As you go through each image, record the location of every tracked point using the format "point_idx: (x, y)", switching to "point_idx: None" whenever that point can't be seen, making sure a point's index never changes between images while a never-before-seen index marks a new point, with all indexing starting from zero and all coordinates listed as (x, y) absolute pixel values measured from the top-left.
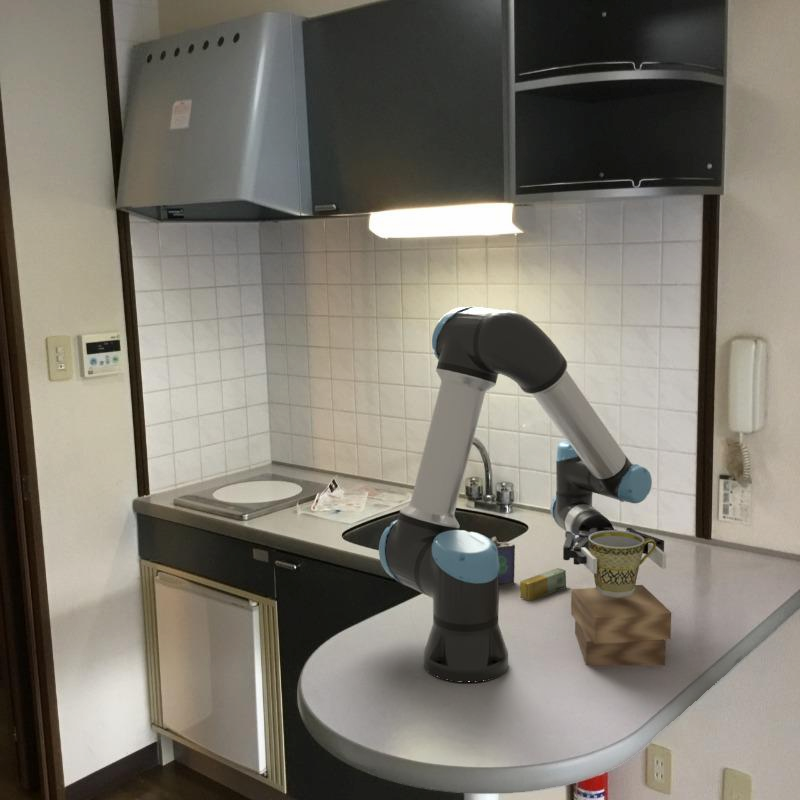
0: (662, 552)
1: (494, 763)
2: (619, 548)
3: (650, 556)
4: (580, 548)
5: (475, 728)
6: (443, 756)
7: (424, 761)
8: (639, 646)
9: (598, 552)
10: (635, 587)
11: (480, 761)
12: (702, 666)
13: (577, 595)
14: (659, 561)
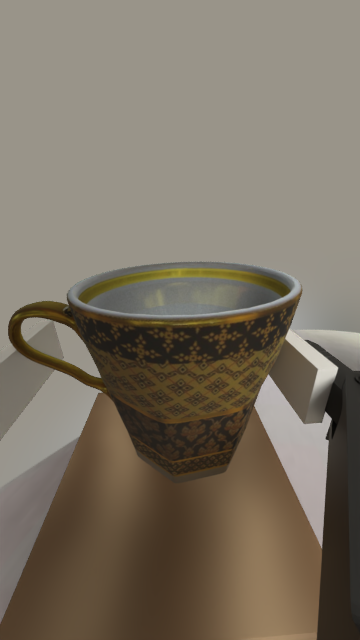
0: (36, 327)
1: (305, 331)
2: (195, 264)
3: (7, 417)
4: (344, 383)
5: (340, 354)
6: (344, 335)
7: (354, 332)
8: None
9: (249, 290)
10: (50, 607)
11: (316, 332)
12: (76, 443)
13: (305, 522)
14: (51, 355)
